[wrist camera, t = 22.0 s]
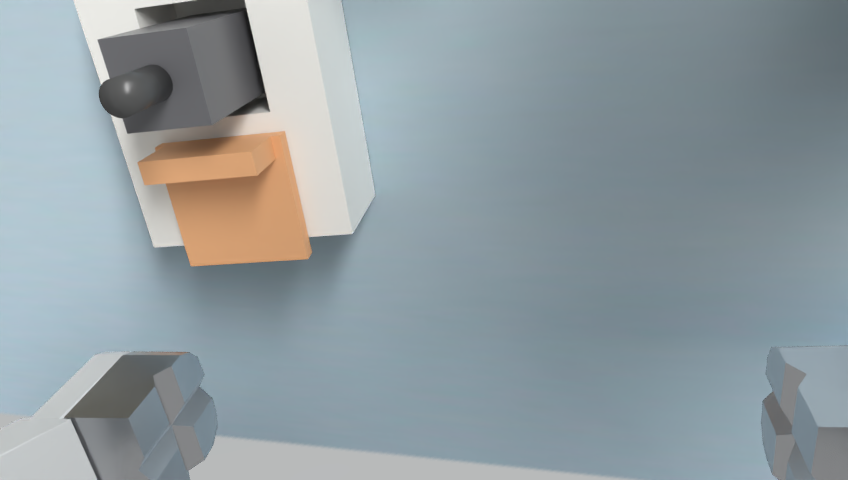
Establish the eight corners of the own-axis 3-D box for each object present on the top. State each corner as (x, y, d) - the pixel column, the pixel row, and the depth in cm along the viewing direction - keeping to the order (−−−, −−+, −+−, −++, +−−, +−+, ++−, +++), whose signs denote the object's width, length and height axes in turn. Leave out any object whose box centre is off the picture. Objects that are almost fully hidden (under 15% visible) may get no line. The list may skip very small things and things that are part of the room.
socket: (124, -53, 38) (57, -50, 33) (326, -86, 36) (290, -88, 31) (199, 208, 45) (153, 247, 39) (375, 195, 42) (352, 233, 37)
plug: (191, 14, 37) (52, 51, 27) (262, 5, 37) (149, 38, 26) (211, 90, 39) (88, 153, 28) (279, 82, 38) (180, 144, 27)
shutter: (162, 143, 36) (128, 163, 33) (284, 131, 35) (261, 150, 32) (197, 260, 39) (168, 288, 36) (312, 252, 38) (292, 281, 35)
